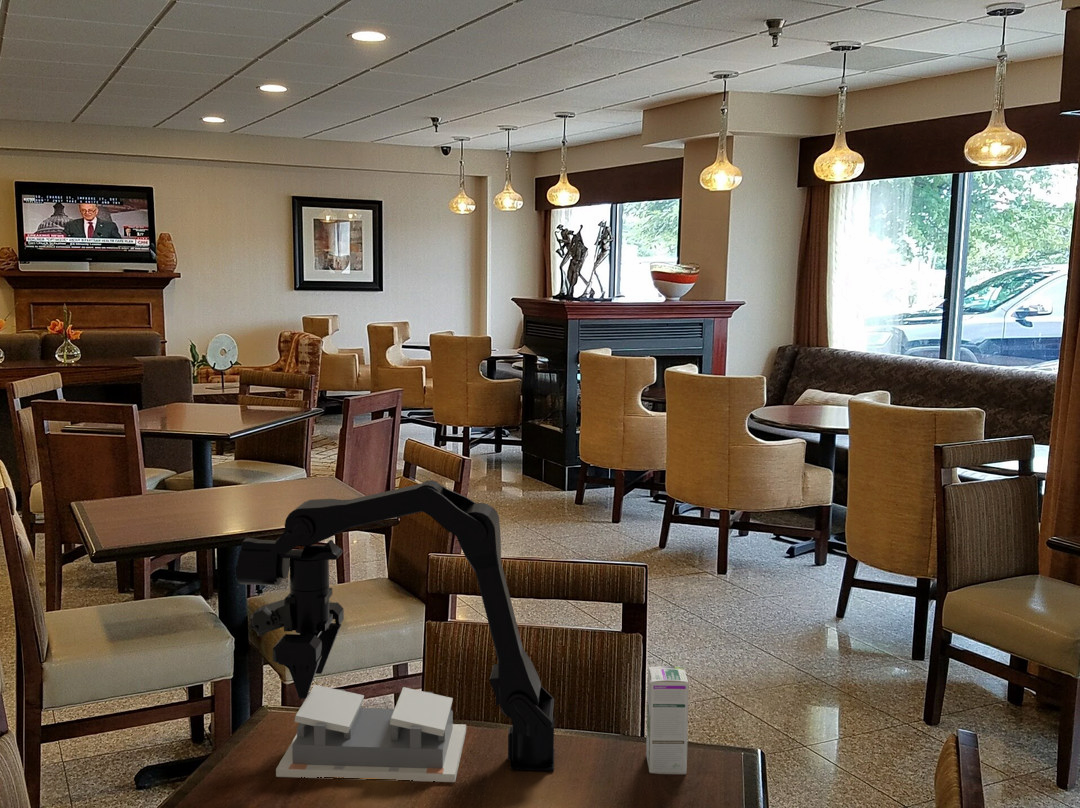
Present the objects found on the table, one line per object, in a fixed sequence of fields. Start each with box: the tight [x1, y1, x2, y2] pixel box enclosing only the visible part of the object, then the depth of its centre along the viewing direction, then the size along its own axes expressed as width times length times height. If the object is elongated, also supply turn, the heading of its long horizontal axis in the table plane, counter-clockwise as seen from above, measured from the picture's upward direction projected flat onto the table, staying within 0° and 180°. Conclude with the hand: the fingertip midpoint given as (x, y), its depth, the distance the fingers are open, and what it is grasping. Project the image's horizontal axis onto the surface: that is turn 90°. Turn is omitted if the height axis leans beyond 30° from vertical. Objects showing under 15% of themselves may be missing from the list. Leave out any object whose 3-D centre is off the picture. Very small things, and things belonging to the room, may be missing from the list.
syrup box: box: [645, 665, 689, 775], centre depth 147 cm, size 6×6×14 cm
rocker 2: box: [390, 686, 454, 736], centre depth 149 cm, size 8×11×2 cm
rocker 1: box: [294, 684, 365, 733], centre depth 150 cm, size 8×11×2 cm
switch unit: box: [275, 688, 467, 783], centre depth 150 cm, size 26×16×7 cm, turn 89°
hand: (310, 685), depth 149 cm, fingers open, 9 cm apart
